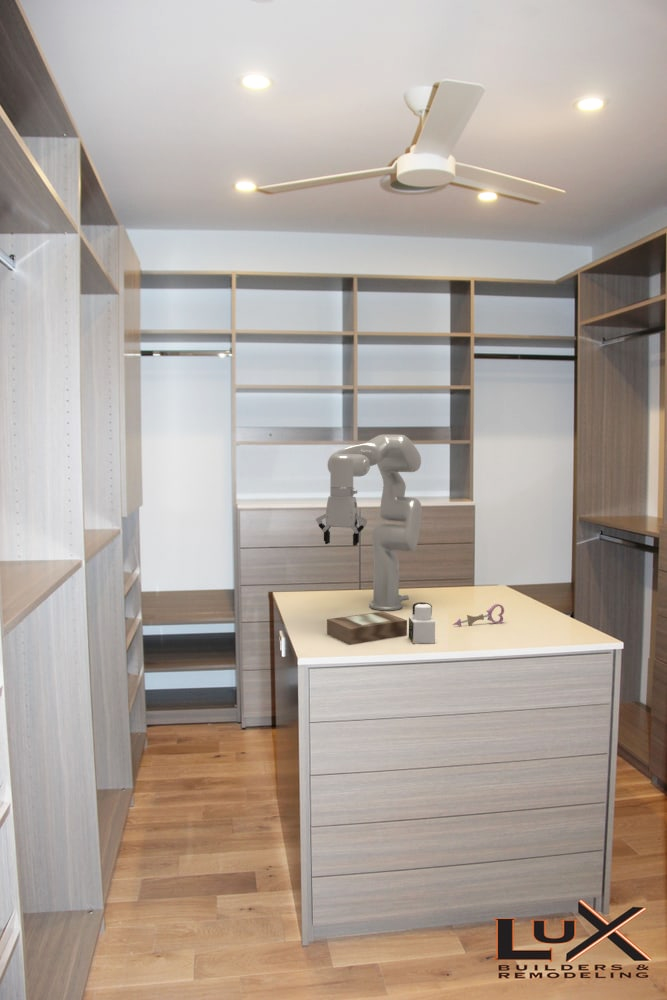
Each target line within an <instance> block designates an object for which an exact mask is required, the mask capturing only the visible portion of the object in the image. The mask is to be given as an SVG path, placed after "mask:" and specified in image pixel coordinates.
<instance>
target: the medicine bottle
mask: <svg viewBox="0 0 667 1000" xmlns="http://www.w3.org/2000/svg"><path fill="white" fill-rule="evenodd" d="M432 609H433V606H432V604H431V603H428V602H422V601H421V602H415V603H413V604H412V615H410V616H408V638H409V640H410V641H411V643H412V644H413V645H415V644H417V645H418V644H435V643H436V620H434V618H432V615H433V614H432V612H433V610H432Z"/></svg>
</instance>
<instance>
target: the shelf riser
mask: <svg viewBox="0 0 667 1000" xmlns="http://www.w3.org/2000/svg"><path fill="white" fill-rule="evenodd" d="M326 635H327V636H330V637H332V638H335V639H336V640H339V641H341V642H343V643H346V644H348V645H356V644H362V643H368V642H375V641H380V640H388V639H393V638H398V637H399V638H400V637H404V636H407V635H408V620H407V619H404V618H402V617H399V616H396V615H394V614H390V613H387V612H386V611H384V610H381V611H377V612H376V611H375V612H369V613H361V614H354V615H348V616H339V617H334V618H333V617H332V618H327V619H326Z"/></svg>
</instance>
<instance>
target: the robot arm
mask: <svg viewBox="0 0 667 1000" xmlns="http://www.w3.org/2000/svg"><path fill="white" fill-rule="evenodd" d="M421 464H422V457H421V455H420V452H419V450H418V448H417V447H416V446H415V444H414V443H413V442H412V440H411V439H410V438H409V437H407V436H406V435H404V434H379V435H376V436H375V437H373V438H371V439H370V440H368V441H365V442H364V443H361V444H356V445H352V446H348V447H344V448H341V449H339V450H337V451H335V452H333V453H332V454H331V455H330V456H329V458H328V461H327V470H328V472H329V474H330V479H329V481H330V485H329V486H330V487H329V488H330V489H329V490H330V492H329V493H330V495H329V496H328V498H327V503H326V510H325V514H322V515H320V516H319V517H316V519H315V521H316V523H317V525H318V527H319V528H320V529H321V530H322V533H323V542H324V544H325V545H329V544H330V543H331V541H330V540H331V532H330V529H331V528H332V527H333V528H347V529H348V528H350V529H351V530H352V531H353V532H354V533H353V534H352V545H353V546H354V547H355V546H358V544H359V542H360V533H361V532H362V530H364V529H365V527H366V525H367V523H368V520H367V519H366V518H364V517H362V516H361V515H359V513H358V503H357V498H356V496H354V495H355V494H356V495H357V494H358V489H355V488H354V477H360V478H361V477H363V476H366V475H367V474H368V473H369V471H370V469H371V467H372V466H376V465H377V468H378V471H379V472H380V475H381V478H382V482H383V483H382V484H383V486H382V493H381V499H380V505H379V517H380V519H382V520H384V521H386V522H395V523H405V525H404V524H394V523H393V524H392V523H391V524H390V523H380V524H378V525H376V526H374V528H372V531H371V543H372V549H373V601H371V602H369V604H368V607H369V608H370V609H372V610H376V611H384V612H386V611H389V612H390V611H397V610H401V609H403V607H404V606H403V601H409V599H410V597H409V595H408V594H407V595H402V594H399V593H400V592H399V590H400V589H399V588H400V585H399V583H400V560H399V557H398V556H397V554H396V552H395V551H401V552H412V551H415V549H416V548H417V546H418V543H419V537H420V529H421V522H422V516H423V515H422V514H423V508H422V503H421V501H420V500H419V499H418V498H415V497H411V496H410V497H408V496H405V495H406V488H407V484H406V482H405V481H404V478H403V477H402V475H401V474H400V473H415V472H417V471H419V470H420V468H421ZM323 520H325V523H324V522H323ZM359 522H361V524H360V525H359V526H358V523H359Z"/></svg>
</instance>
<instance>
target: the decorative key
mask: <svg viewBox="0 0 667 1000" xmlns="http://www.w3.org/2000/svg"><path fill="white" fill-rule="evenodd" d="M498 607H499V608H500V609H501V610H500V613H499V614H497V616H498V617H499V620H496V621H495V620H494V618H493V616H492V615H493V612H494V610H495V609H496V608H498ZM485 611H486V613H488V614H483V613H481V614H479V615H477V616H473V615H469V614H467V615H466V617H467V618H466V619H464V620H461V618H459V619H458V620H457V621H455V623H453V624H452V625H453V626H459V627H462V624H464V623H467V624H468V626H472V625H473V624H474V623H476V622H477V621H480V620H482V621H483V620H485V618H487V621H489V622H490V621H491V622H492V623H494V624H496V625H498V624H501V623H503V622H504V617H503V615H504V613H505V608H504V606H503V605H502V604H500V603H495V604H493V605H492V606H491V607H489V609H488V610H487V609H486V610H485Z"/></svg>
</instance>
